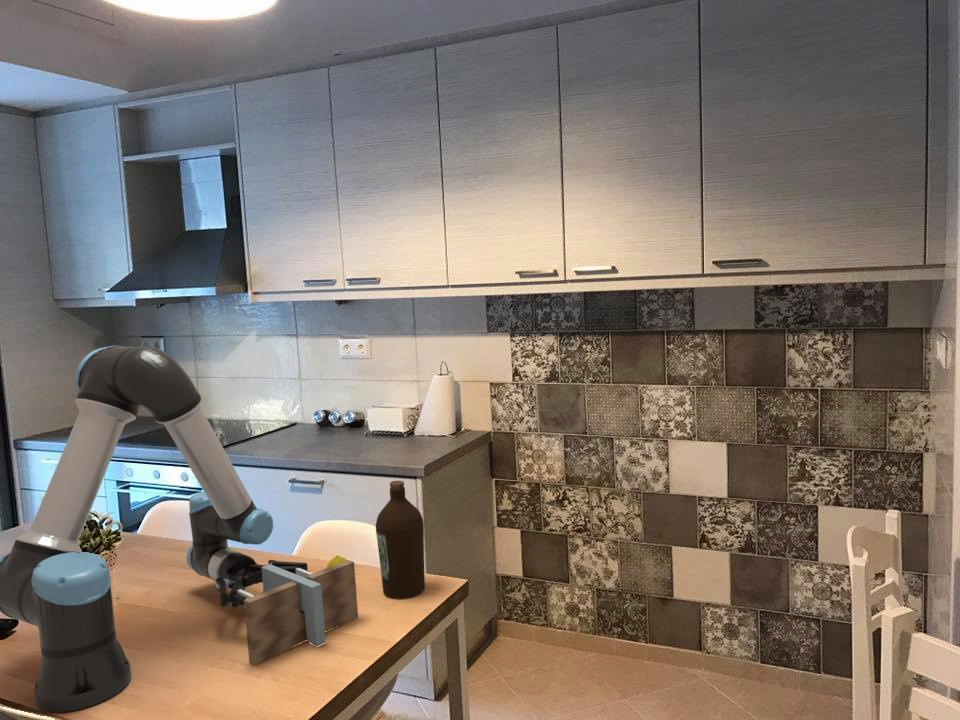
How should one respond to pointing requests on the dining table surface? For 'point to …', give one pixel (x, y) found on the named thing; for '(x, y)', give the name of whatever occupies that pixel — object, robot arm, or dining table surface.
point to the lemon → (336, 561)
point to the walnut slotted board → (297, 611)
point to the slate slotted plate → (301, 599)
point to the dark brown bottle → (401, 546)
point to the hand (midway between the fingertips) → (287, 592)
